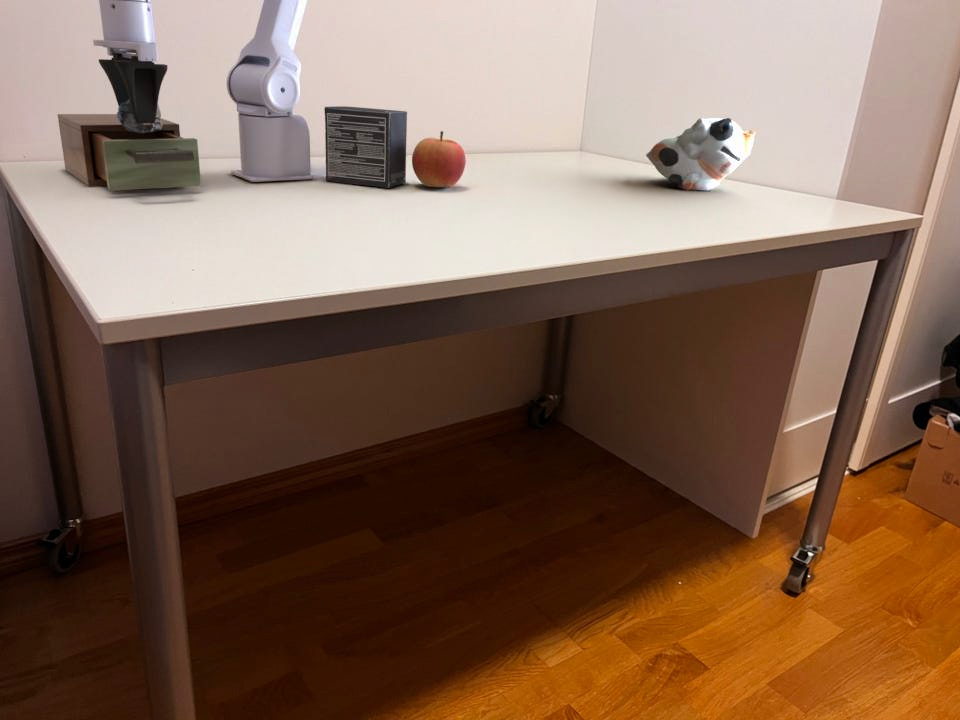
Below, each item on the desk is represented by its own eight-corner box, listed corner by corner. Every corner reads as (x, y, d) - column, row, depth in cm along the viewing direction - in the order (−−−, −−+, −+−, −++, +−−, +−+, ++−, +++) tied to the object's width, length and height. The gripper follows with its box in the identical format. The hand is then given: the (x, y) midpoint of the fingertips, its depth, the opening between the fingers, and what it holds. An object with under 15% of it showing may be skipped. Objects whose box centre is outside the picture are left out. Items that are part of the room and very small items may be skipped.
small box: (408, 183, 114) (409, 110, 110) (389, 189, 108) (390, 112, 104) (345, 175, 117) (344, 104, 113) (323, 181, 111) (322, 106, 107)
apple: (440, 181, 118) (442, 127, 115) (475, 189, 112) (478, 133, 109) (399, 184, 112) (400, 128, 109) (434, 193, 107) (436, 135, 104)
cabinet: (184, 181, 105) (179, 124, 102) (88, 186, 98) (80, 125, 95) (154, 166, 114) (149, 114, 111) (65, 170, 107) (57, 114, 104)
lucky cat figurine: (693, 177, 137) (744, 110, 130) (725, 216, 130) (781, 147, 122) (632, 152, 130) (682, 80, 122) (662, 192, 122) (717, 117, 114)
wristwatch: (153, 142, 98) (128, 110, 97) (170, 117, 95) (144, 84, 94) (134, 147, 95) (108, 114, 95) (151, 121, 92) (125, 87, 92)
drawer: (214, 192, 94) (211, 144, 92) (121, 198, 88) (115, 146, 86) (170, 170, 107) (166, 127, 105) (85, 174, 100) (79, 128, 98)
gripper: (74, -1, 93) (89, 114, 98) (105, -2, 83) (120, 127, 88) (135, 3, 97) (146, 114, 103) (171, 3, 87) (182, 126, 92)
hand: (138, 120), depth 96 cm, fingers closed on wristwatch, 5 cm apart
